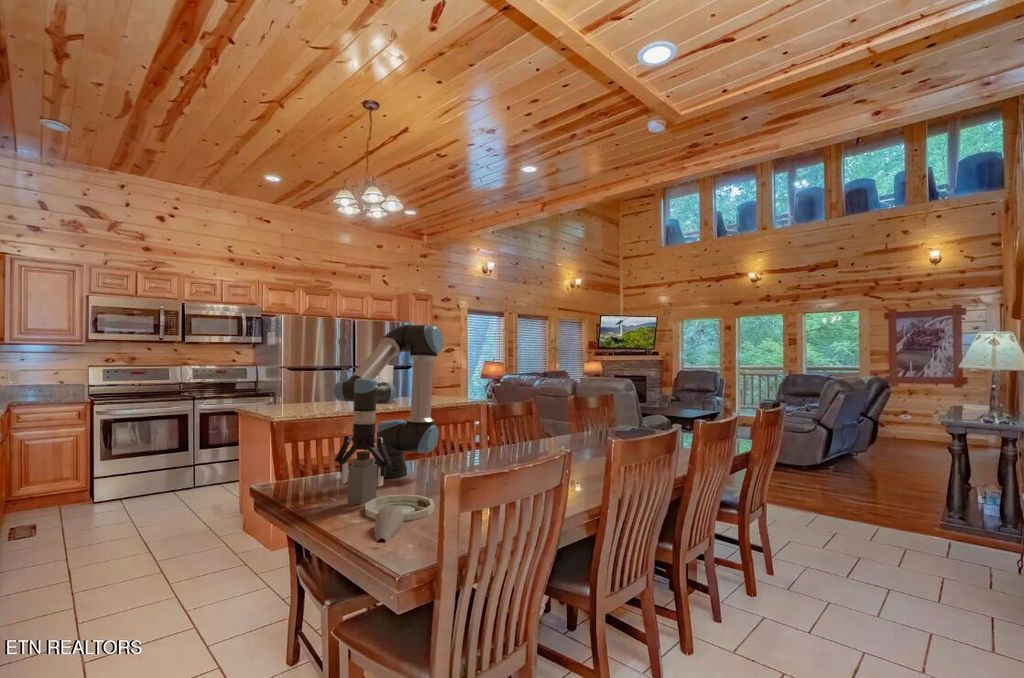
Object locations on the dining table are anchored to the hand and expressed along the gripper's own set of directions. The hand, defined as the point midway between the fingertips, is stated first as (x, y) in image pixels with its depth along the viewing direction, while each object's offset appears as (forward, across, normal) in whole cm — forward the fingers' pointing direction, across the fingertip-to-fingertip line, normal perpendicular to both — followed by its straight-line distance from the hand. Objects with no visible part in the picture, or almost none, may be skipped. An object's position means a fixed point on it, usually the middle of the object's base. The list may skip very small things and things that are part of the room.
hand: (362, 484), depth 179 cm
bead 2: (+6, +25, -8) cm, 27 cm away
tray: (+7, +17, -6) cm, 19 cm away
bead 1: (+6, +22, 0) cm, 23 cm away
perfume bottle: (+7, 0, 0) cm, 7 cm away
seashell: (+7, +22, -25) cm, 34 cm away
